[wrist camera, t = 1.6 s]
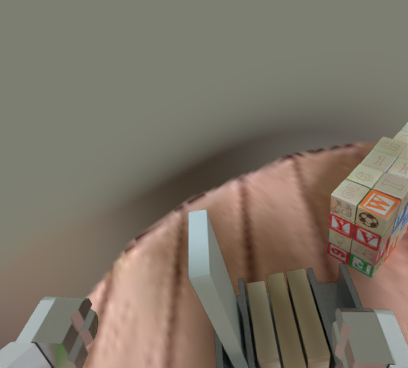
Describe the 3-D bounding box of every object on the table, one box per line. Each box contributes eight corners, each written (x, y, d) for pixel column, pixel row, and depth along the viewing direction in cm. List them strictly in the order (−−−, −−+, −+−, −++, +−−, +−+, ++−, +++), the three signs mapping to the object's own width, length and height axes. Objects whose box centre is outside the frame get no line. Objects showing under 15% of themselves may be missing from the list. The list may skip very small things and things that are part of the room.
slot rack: (343, 284, 40) (347, 258, 36) (382, 383, 32) (392, 364, 28) (214, 302, 42) (204, 280, 38) (219, 399, 34) (207, 384, 30)
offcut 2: (285, 292, 40) (283, 272, 37) (306, 382, 33) (306, 367, 29) (269, 295, 40) (265, 274, 37) (287, 384, 33) (284, 369, 30)
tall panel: (241, 314, 39) (206, 209, 26) (248, 367, 35) (209, 274, 22) (230, 316, 40) (188, 212, 26) (235, 369, 35) (188, 277, 22)
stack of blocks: (398, 165, 52) (414, 99, 44) (442, 180, 48) (469, 110, 40) (326, 254, 44) (329, 193, 36) (372, 280, 40) (387, 218, 32)
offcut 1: (268, 302, 40) (264, 280, 36) (282, 374, 34) (278, 357, 30) (252, 305, 40) (246, 283, 36) (263, 376, 34) (257, 359, 30)
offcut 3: (304, 293, 39) (304, 268, 35) (327, 375, 33) (330, 355, 29) (288, 296, 40) (286, 271, 36) (308, 377, 33) (307, 357, 29)
